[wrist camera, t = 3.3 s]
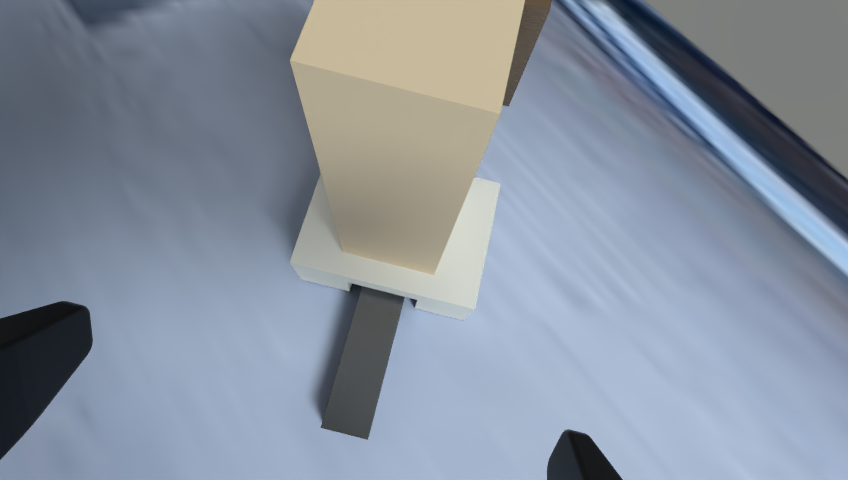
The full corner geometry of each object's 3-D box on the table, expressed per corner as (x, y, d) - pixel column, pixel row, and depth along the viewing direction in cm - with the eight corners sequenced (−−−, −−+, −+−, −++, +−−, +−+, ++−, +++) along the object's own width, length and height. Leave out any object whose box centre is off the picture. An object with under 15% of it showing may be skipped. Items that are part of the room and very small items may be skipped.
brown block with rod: (434, 454, 21) (459, 480, 14) (246, 406, 21) (181, 409, 14) (520, 50, 28) (562, -57, 21) (381, 15, 28) (381, -104, 21)
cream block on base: (463, 320, 23) (599, 188, 8) (301, 279, 22) (161, 76, 8) (487, 208, 24) (629, -53, 10) (337, 170, 24) (275, -144, 10)
